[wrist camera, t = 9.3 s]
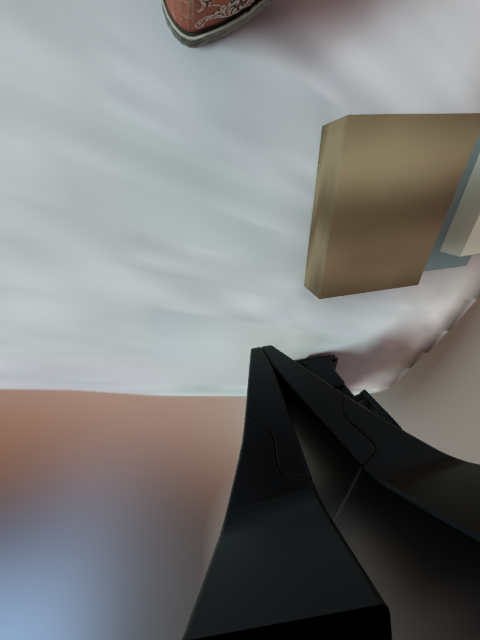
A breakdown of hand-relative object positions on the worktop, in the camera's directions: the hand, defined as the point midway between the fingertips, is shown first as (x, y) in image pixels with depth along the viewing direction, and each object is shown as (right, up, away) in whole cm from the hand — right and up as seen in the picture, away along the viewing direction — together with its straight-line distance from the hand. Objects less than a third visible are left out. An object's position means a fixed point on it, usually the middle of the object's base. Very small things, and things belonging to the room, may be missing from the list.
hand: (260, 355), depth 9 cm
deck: (+10, +11, +10) cm, 18 cm away
